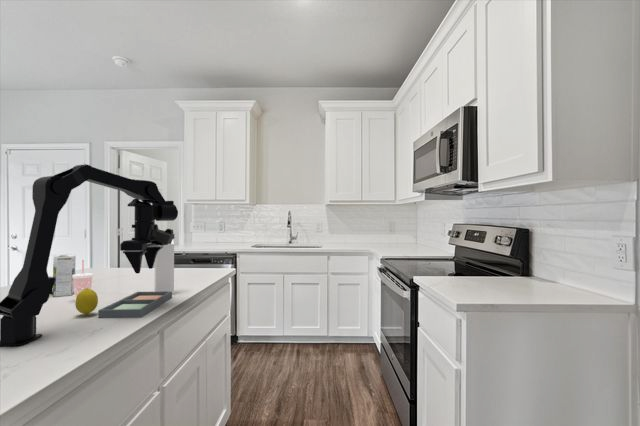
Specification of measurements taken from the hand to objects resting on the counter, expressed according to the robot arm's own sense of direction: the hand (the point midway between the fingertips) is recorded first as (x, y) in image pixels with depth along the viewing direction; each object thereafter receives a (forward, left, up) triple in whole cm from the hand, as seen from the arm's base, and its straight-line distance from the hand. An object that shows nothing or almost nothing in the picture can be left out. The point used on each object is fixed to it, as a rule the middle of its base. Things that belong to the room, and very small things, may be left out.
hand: (144, 270), depth 109 cm
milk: (+21, +2, -12) cm, 24 cm away
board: (+3, +3, -12) cm, 13 cm away
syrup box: (+21, +38, -12) cm, 45 cm away
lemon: (-6, +14, -12) cm, 20 cm away
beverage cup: (+12, +26, -12) cm, 31 cm away
